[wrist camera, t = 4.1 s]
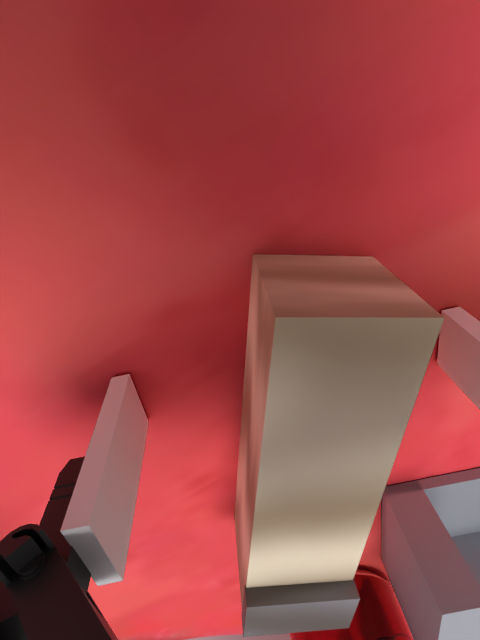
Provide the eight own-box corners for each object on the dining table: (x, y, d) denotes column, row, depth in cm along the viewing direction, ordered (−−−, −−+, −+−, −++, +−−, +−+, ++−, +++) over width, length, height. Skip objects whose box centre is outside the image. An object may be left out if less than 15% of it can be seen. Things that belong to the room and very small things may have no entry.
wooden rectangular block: (250, 252, 14) (278, 331, 9) (372, 254, 14) (462, 331, 9) (233, 513, 21) (243, 638, 16) (314, 509, 22) (348, 629, 17)
